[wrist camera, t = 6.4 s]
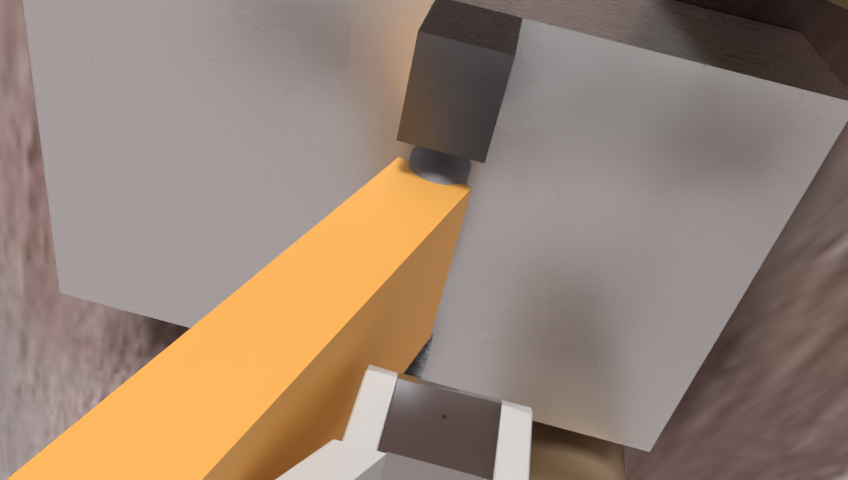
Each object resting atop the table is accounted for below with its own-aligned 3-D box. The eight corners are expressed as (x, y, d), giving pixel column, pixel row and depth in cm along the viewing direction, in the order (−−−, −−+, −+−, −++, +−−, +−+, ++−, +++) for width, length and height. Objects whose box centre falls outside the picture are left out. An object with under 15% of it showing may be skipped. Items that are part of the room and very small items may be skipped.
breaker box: (134, 213, 22) (12, 343, 18) (119, -141, 17) (-70, -95, 12) (638, 348, 22) (656, 518, 17) (800, 32, 16) (898, 154, 11)
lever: (383, 295, 17) (-28, 751, 9) (418, 134, 15) (-110, 558, 6) (442, 323, 17) (70, 829, 9) (489, 162, 14) (26, 655, 6)
